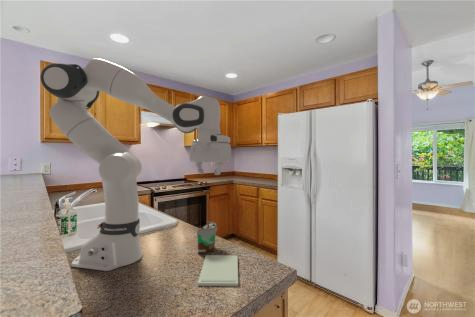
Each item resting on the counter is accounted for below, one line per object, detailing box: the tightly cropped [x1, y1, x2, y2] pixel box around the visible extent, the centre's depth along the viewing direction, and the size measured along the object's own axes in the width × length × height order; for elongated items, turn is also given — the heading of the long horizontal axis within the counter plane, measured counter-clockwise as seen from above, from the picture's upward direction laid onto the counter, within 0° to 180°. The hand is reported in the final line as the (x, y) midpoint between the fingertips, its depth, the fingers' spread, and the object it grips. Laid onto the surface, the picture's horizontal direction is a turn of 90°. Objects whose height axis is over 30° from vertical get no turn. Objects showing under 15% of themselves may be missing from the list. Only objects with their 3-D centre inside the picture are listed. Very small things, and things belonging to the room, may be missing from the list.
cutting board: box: [197, 254, 239, 287], centre depth 76 cm, size 12×19×1 cm, turn 1°
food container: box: [196, 220, 218, 255], centre depth 92 cm, size 12×6×10 cm, turn 168°
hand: (208, 174), depth 87 cm, fingers open, 8 cm apart
